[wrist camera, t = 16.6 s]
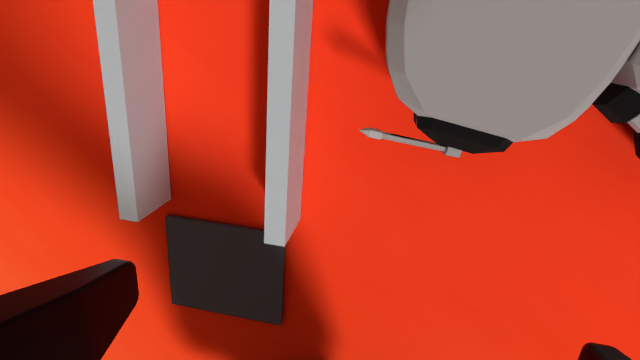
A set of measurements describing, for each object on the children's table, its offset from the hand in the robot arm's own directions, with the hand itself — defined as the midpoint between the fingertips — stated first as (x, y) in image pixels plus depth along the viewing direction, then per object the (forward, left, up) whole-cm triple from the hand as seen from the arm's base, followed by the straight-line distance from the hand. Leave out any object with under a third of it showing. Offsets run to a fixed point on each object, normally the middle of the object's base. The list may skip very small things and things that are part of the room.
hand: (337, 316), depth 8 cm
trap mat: (-8, +8, -12) cm, 16 cm away
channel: (+2, +8, -12) cm, 14 cm away
